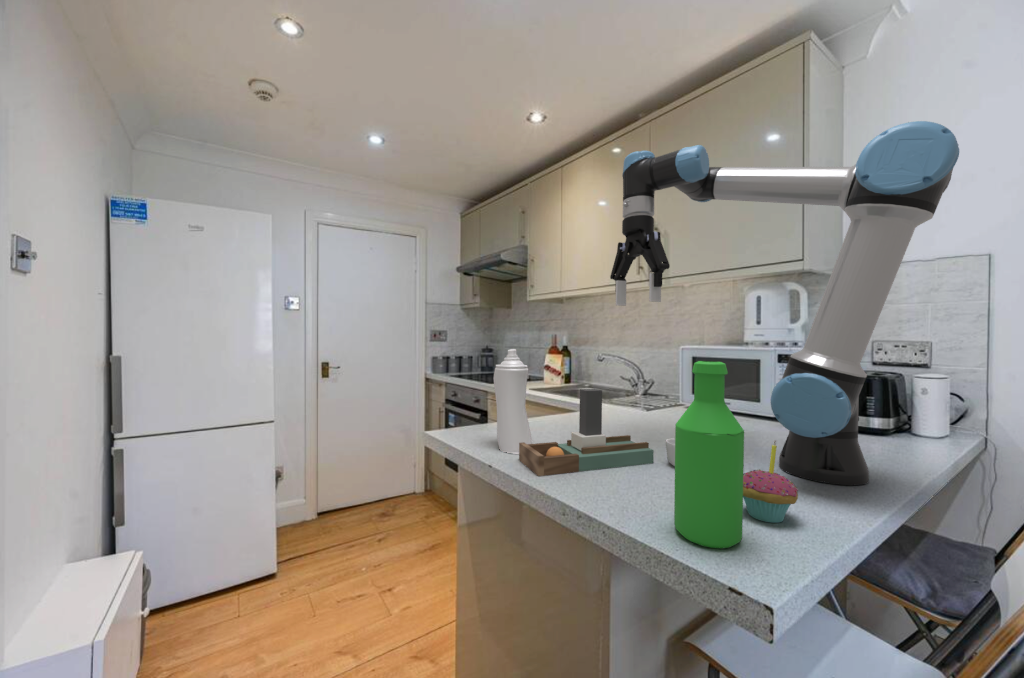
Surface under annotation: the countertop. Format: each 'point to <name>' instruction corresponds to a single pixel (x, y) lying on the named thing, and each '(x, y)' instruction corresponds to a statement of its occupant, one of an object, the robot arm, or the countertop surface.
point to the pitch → (610, 457)
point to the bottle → (709, 464)
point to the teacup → (670, 450)
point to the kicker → (589, 420)
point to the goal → (547, 459)
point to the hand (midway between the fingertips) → (636, 303)
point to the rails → (613, 447)
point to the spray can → (511, 403)
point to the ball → (554, 451)
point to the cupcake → (768, 493)
